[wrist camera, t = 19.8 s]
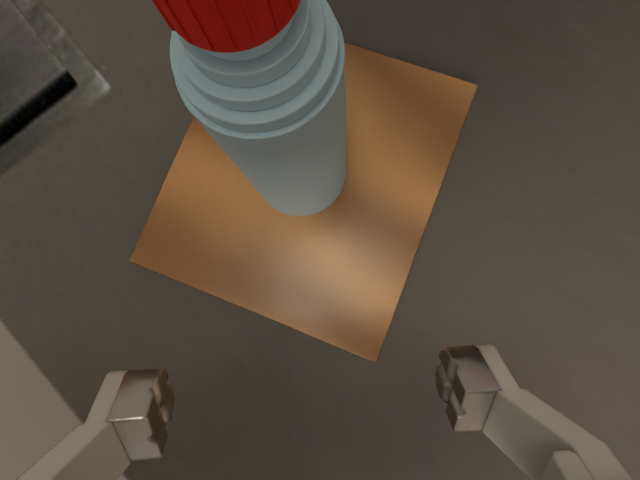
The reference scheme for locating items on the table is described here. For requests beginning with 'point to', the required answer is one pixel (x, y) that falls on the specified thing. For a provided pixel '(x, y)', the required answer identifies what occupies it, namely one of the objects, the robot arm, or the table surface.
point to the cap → (227, 21)
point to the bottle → (276, 108)
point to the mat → (325, 226)
